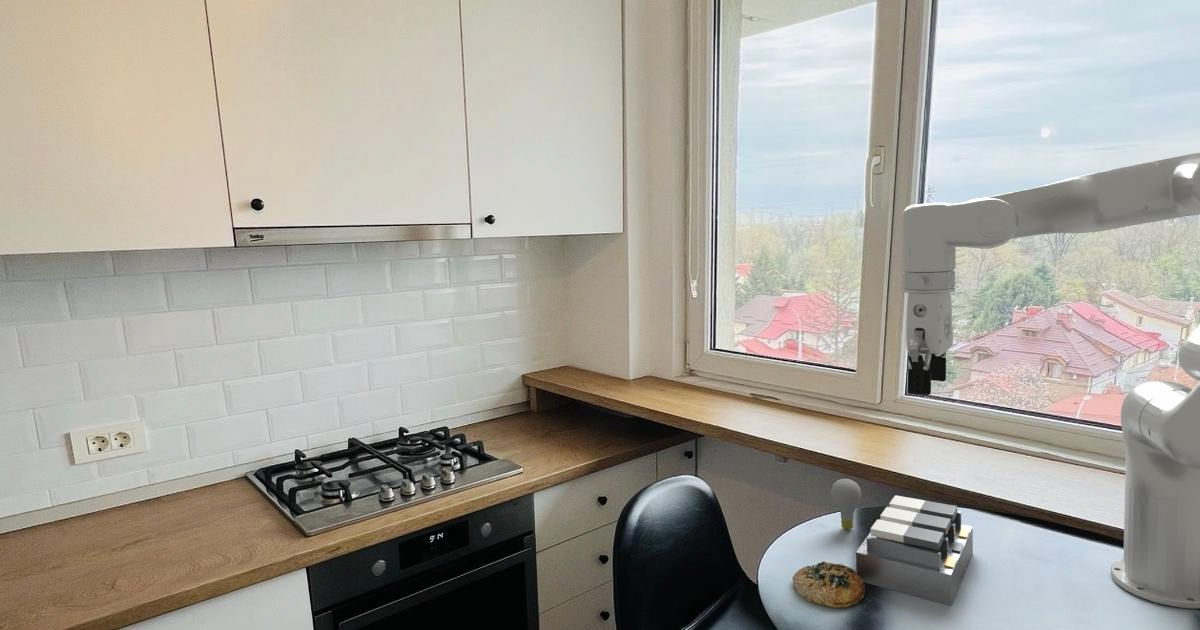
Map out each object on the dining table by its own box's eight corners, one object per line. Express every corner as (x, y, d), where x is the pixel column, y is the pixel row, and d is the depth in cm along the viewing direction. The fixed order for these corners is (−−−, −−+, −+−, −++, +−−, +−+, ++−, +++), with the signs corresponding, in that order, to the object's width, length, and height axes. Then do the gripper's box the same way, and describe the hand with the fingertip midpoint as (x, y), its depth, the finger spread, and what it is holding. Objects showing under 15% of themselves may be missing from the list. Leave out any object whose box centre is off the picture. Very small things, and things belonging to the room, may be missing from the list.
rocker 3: (943, 540, 102) (943, 532, 102) (938, 551, 99) (938, 543, 99) (877, 526, 109) (877, 519, 109) (870, 536, 106) (870, 528, 106)
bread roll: (861, 573, 109) (859, 548, 107) (870, 621, 98) (868, 593, 97) (792, 571, 112) (790, 546, 111) (794, 617, 102) (791, 590, 100)
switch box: (972, 554, 112) (972, 512, 111) (951, 605, 98) (950, 558, 97) (887, 535, 121) (886, 496, 120) (856, 580, 107) (855, 537, 106)
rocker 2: (950, 526, 107) (950, 518, 107) (945, 536, 104) (945, 528, 104) (887, 514, 113) (886, 506, 113) (880, 522, 110) (880, 515, 110)
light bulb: (865, 536, 121) (863, 485, 120) (834, 535, 122) (832, 485, 121) (859, 523, 126) (858, 474, 125) (830, 522, 127) (828, 474, 126)
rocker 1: (957, 513, 111) (957, 506, 111) (952, 522, 108) (952, 515, 108) (895, 502, 117) (895, 495, 117) (889, 510, 114) (889, 503, 114)
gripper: (941, 288, 94) (940, 402, 96) (966, 276, 107) (965, 377, 109) (886, 287, 98) (887, 396, 101) (917, 276, 111) (917, 373, 114)
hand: (927, 386), depth 105 cm, fingers open, 9 cm apart
